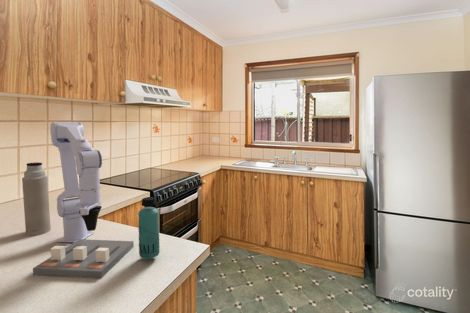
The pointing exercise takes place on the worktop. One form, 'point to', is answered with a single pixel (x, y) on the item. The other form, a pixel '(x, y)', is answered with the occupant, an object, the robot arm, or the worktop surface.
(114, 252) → the switch panel
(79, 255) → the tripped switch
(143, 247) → the beverage bottle
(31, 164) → the thermos bottle
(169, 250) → the worktop surface
